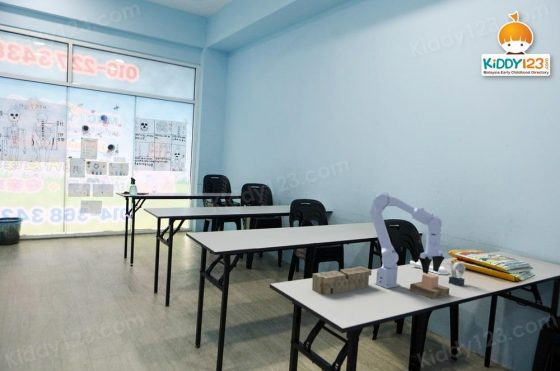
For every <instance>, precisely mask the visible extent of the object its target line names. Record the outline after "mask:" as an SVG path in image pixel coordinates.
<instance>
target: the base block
mask: <svg viewBox="0 0 560 371" xmlns="http://www.w3.org/2000/svg"><path fill="white" fill-rule="evenodd" d="M409 285H410V286H409V291H410V292H414V293H416V294H419V295H421V296H424V297H427V298H430V299H432V300H434V299H438V298H442V297H445V296H449V295H450V288H449V287H447V286H444V285H442V284H438V287H436V288H432V289H431V288H428V287H425V286H422V281H417V282H413V283H410V284H409Z"/></svg>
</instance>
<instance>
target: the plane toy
mask: <svg viewBox="0 0 560 371" xmlns="http://www.w3.org/2000/svg"><path fill="white" fill-rule="evenodd" d="M409 265H411V266H414V267H416V268H418V269H421V270H423V269H422V265H421V262H420V260H419V259H418V261H416V262H415V261H414V260H410V261H409ZM428 272H432V273H434V274H437V275H449V272H448V270H447V268H446V267H445V266H441V265H440V268H439V270H438V272H436V271H433V260H432V261H431V263H430V266H429V271H428Z"/></svg>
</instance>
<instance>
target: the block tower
mask: <svg viewBox="0 0 560 371" xmlns="http://www.w3.org/2000/svg"><path fill="white" fill-rule="evenodd" d="M370 276H372V269H370V268H366V267H363V266H360V265H359V266H356V267H355V266H354V267H350V268H349V267H348V268H342V269H341V268H340V269H339V271H337V270H331V271H322V272H316V273H312V282H311V283H312V284H311V285H312V286H311V290H312V291H314V292H316V293H318V294H323V295H325V296H327V295H330V294H336V293H337V292H338V293H342V292H347V291H348V290H349V291H355V290H359V289H363V288H368V287H369V280H370ZM331 292H332V293H331ZM338 293H337V294H338Z"/></svg>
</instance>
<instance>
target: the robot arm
mask: <svg viewBox="0 0 560 371" xmlns="http://www.w3.org/2000/svg"><path fill="white" fill-rule="evenodd" d="M386 207H396V208H399V209H401V210H403V211H405V212H407V213H408V214H411V216H412V219H414V220H416V221H417V222H419V223H421V224H422V225H424V226H427V232H426V241H425V242H426V243H425V251H424V252H421V253H420V255H419V256H418V260H420V262H421V265H422V269H421V270H422V273H423V274H428V273H429V272H430V271H429V266H430V263H431V261H433V271H436V272H438V270H439V268H440V266H441V265H442V263H443V261H445V256H444V251H443V250H440V244H441V236H442V235H441V232H442V230H441V228H442V224H443V223H442V219H441V218H440V217H439V216H438V215H435V214H434V213H430V212H429V211H427V210H425V207H419V206H418V207H413V206H411V205H410V204H408V203H407V202H405V201H403V200H402V199H400V198H398V197H396V196H394V195H392V194H390V193H388V192H381V193H379V194H377V195H375V197H374V198H373V200H372V204H371V209H370V213H369V214H370V217H371V219H372V223H373V226H374V228H375V232H376V235H377V239H378V241H379V244H380V247H381V248H380V249H381V256H382V258H381V262H382V264H381V265H382V266H381V267H379V268H377V270H376V279H375V280H376V281H375V282H374V284H375V285H377V286H380V287H383V288H385V289H391V288H396V287H400V286H401V284H399V283H398V282H397V280H398V271H399V270H398V268H399V265H398V264H397V263H398V261H399V254H398V252H396V250H395V248H394V246H393V244H392V242H391V239H390V236H389V233H388V230H387V227H386V224H385V223H386V222H385V220H384V217H383V212H384V211H385V209H386ZM430 258H431V259H430Z"/></svg>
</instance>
